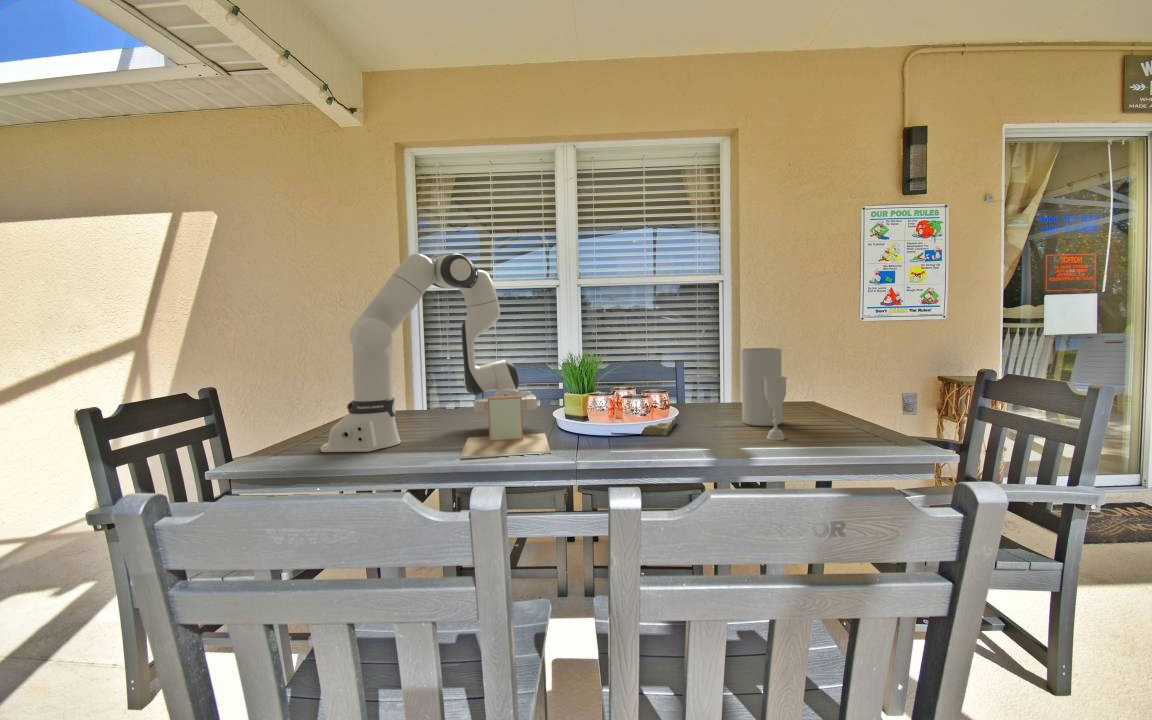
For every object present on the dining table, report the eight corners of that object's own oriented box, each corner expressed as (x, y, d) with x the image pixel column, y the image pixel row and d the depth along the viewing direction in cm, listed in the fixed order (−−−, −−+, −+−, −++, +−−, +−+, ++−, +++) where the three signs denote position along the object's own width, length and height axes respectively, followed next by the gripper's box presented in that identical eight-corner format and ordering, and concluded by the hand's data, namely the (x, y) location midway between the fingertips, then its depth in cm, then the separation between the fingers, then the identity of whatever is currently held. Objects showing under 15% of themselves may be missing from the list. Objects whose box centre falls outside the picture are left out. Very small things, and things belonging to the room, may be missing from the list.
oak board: (460, 460, 134) (459, 456, 134) (468, 440, 158) (468, 437, 158) (550, 454, 137) (550, 451, 137) (545, 436, 160) (545, 433, 160)
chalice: (761, 435, 152) (760, 375, 151) (785, 435, 150) (785, 375, 149) (765, 440, 145) (764, 378, 144) (790, 440, 143) (790, 377, 142)
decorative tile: (676, 424, 175) (675, 414, 175) (667, 437, 156) (666, 425, 156) (623, 423, 181) (623, 413, 181) (608, 435, 162) (608, 424, 162)
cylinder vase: (738, 420, 177) (737, 348, 175) (775, 419, 176) (775, 347, 174) (747, 427, 165) (746, 350, 163) (787, 426, 163) (786, 349, 162)
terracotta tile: (489, 441, 151) (487, 398, 150) (490, 439, 154) (488, 397, 153) (523, 439, 152) (521, 396, 151) (523, 437, 155) (521, 395, 154)
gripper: (474, 393, 170) (471, 399, 156) (535, 390, 173) (537, 395, 159) (475, 412, 170) (472, 419, 157) (536, 409, 173) (538, 415, 159)
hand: (505, 407), depth 158 cm, fingers closed
